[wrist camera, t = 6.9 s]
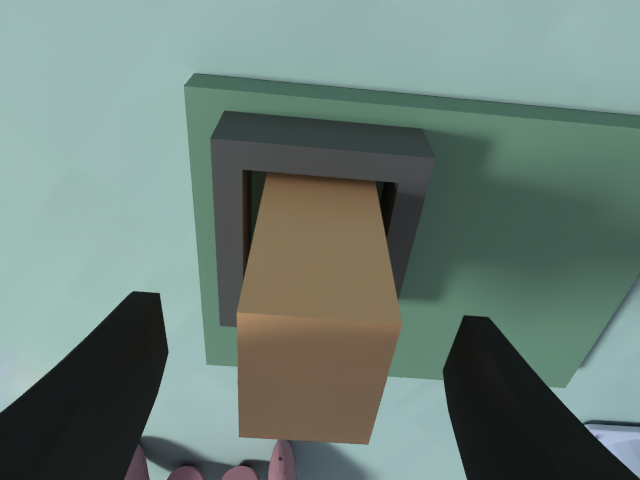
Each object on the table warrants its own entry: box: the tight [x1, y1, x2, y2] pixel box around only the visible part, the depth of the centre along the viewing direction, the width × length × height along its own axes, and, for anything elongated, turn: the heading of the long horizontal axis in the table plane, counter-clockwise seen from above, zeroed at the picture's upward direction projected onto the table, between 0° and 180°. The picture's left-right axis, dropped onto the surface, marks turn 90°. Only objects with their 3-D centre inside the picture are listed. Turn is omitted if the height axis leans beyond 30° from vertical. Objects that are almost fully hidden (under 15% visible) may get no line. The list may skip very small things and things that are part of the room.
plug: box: [237, 172, 402, 445], centre depth 12 cm, size 3×4×7 cm
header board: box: [184, 74, 640, 388], centre depth 16 cm, size 16×12×3 cm
